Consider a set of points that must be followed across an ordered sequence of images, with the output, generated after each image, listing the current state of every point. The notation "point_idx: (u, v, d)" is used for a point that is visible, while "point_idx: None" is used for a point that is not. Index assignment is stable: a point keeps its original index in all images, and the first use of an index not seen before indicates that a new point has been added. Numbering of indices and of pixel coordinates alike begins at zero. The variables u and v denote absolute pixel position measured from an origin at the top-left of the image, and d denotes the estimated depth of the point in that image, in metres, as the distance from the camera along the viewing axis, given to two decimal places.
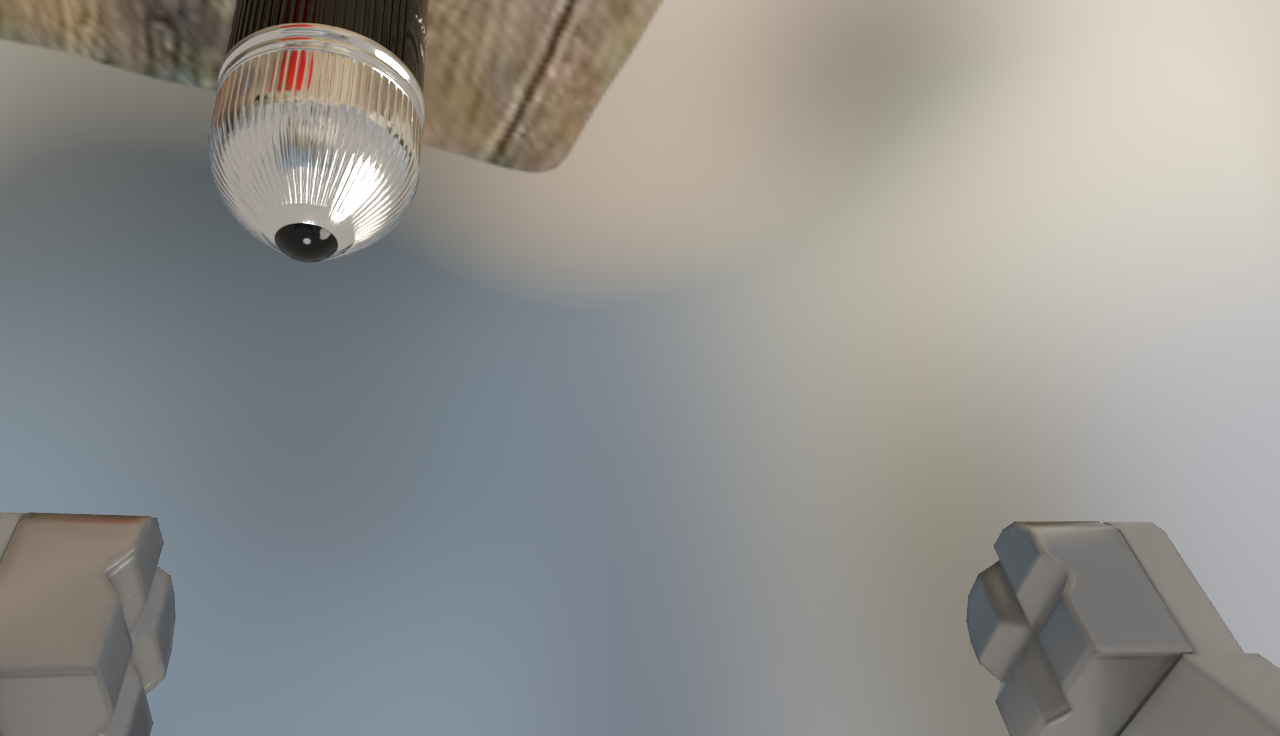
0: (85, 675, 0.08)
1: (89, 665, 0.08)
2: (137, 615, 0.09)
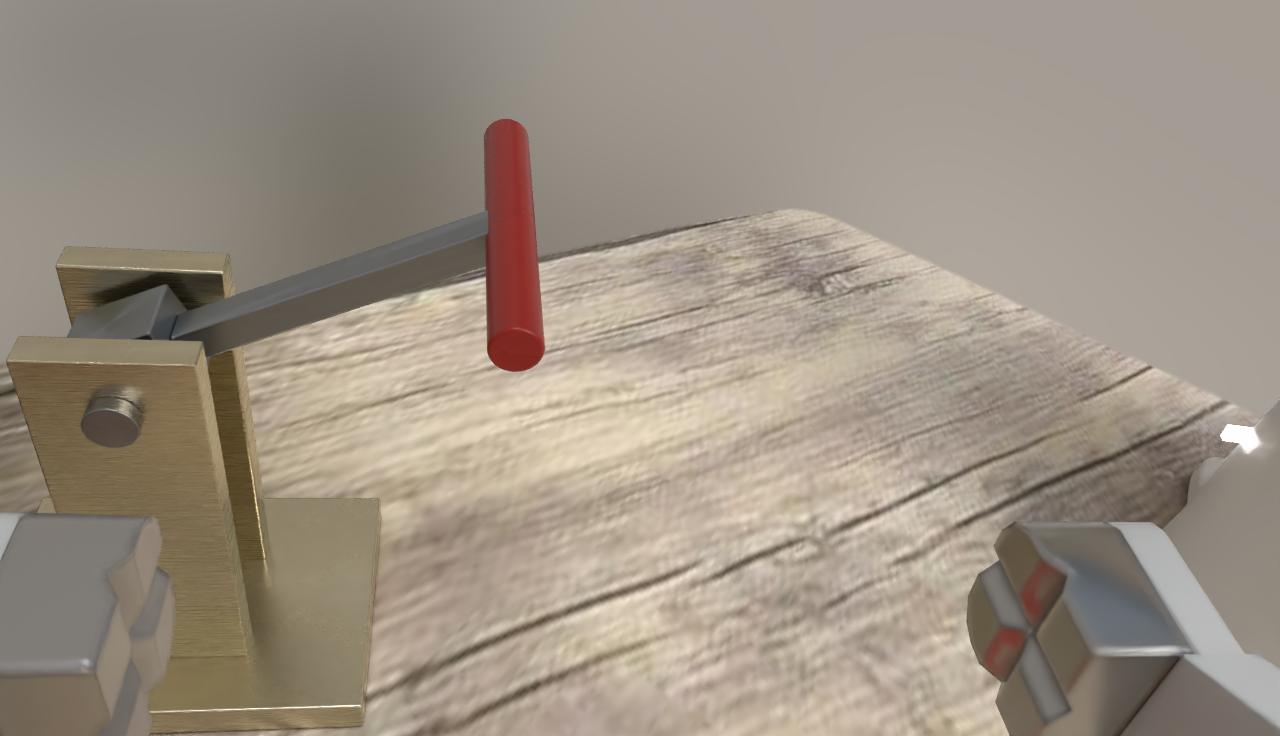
0: (85, 675, 0.08)
1: (89, 665, 0.08)
2: (137, 615, 0.09)
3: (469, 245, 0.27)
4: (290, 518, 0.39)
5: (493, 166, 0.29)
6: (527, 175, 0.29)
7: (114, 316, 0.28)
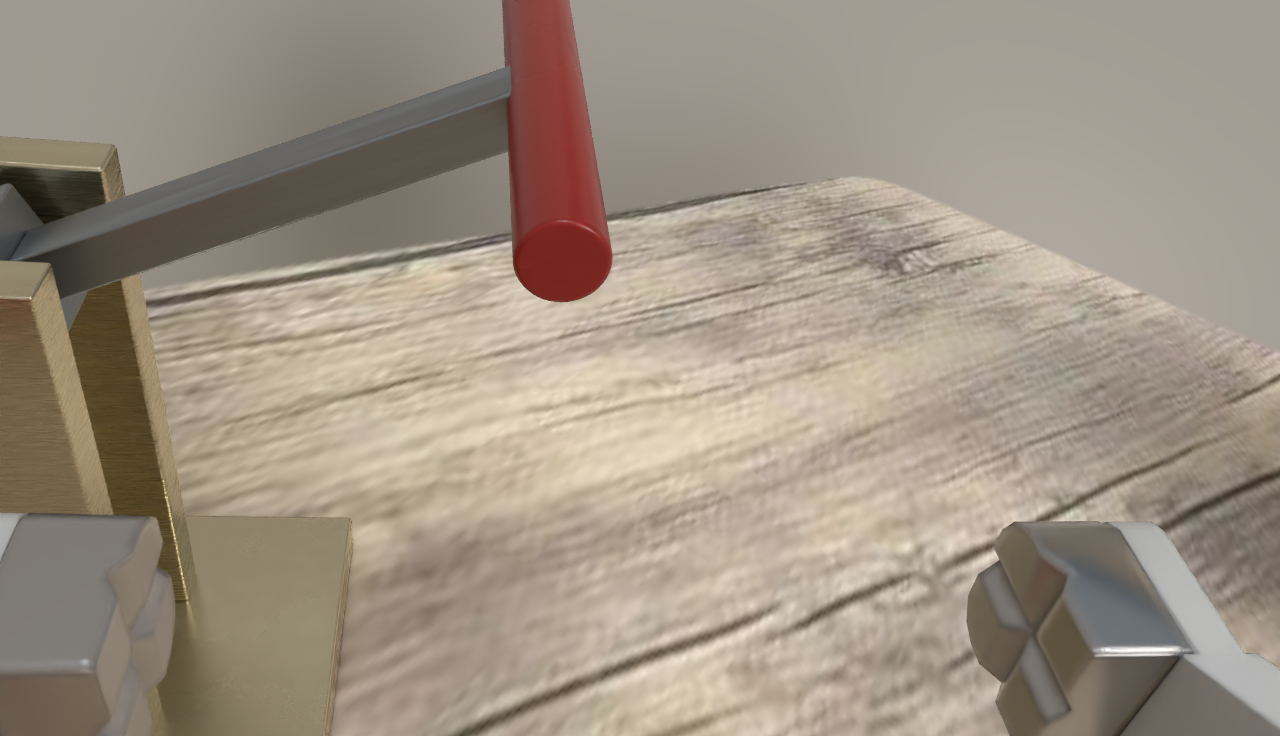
0: (85, 675, 0.08)
1: (89, 665, 0.08)
2: (137, 615, 0.09)
3: (480, 115, 0.17)
4: (227, 544, 0.29)
5: (517, 10, 0.19)
6: (569, 24, 0.19)
7: None
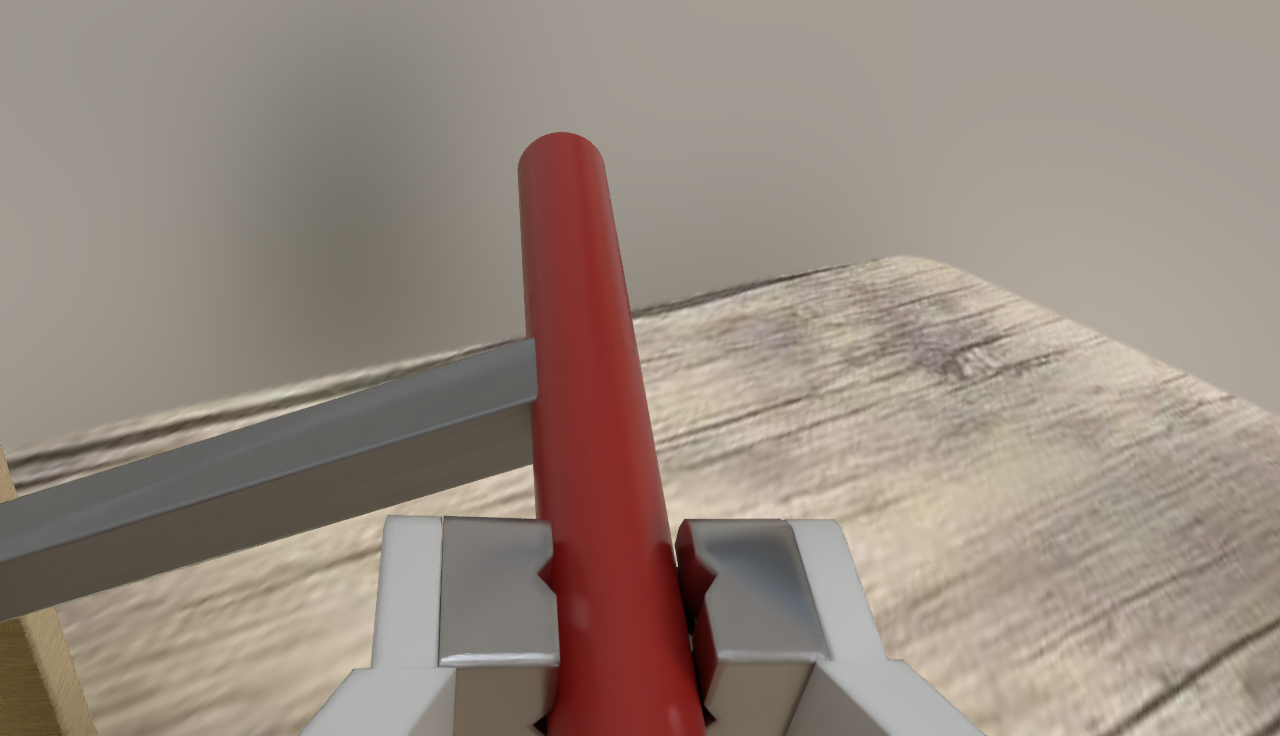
0: (549, 667, 0.08)
1: (553, 657, 0.08)
2: None
3: (492, 426, 0.12)
4: None
5: (542, 232, 0.14)
6: (615, 252, 0.14)
7: None
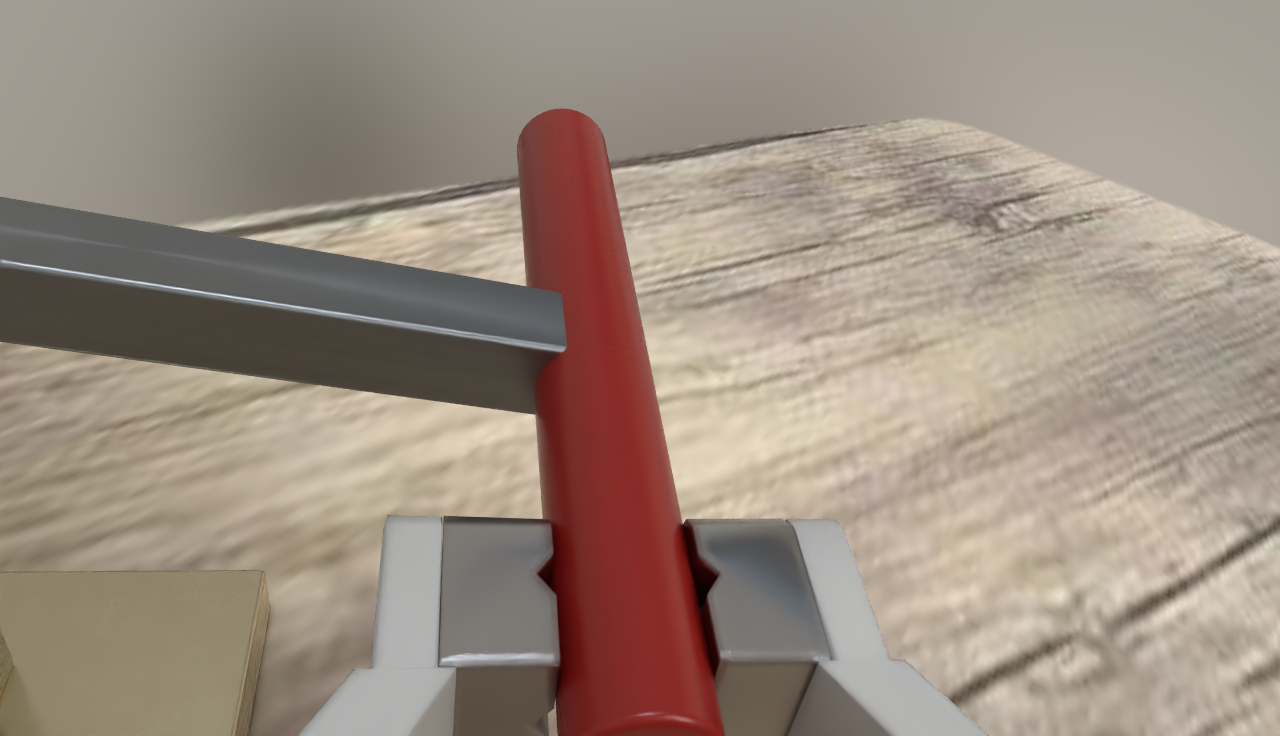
0: (549, 667, 0.08)
1: (554, 657, 0.08)
2: None
3: (506, 356, 0.11)
4: (70, 615, 0.19)
5: (570, 198, 0.13)
6: None
7: None
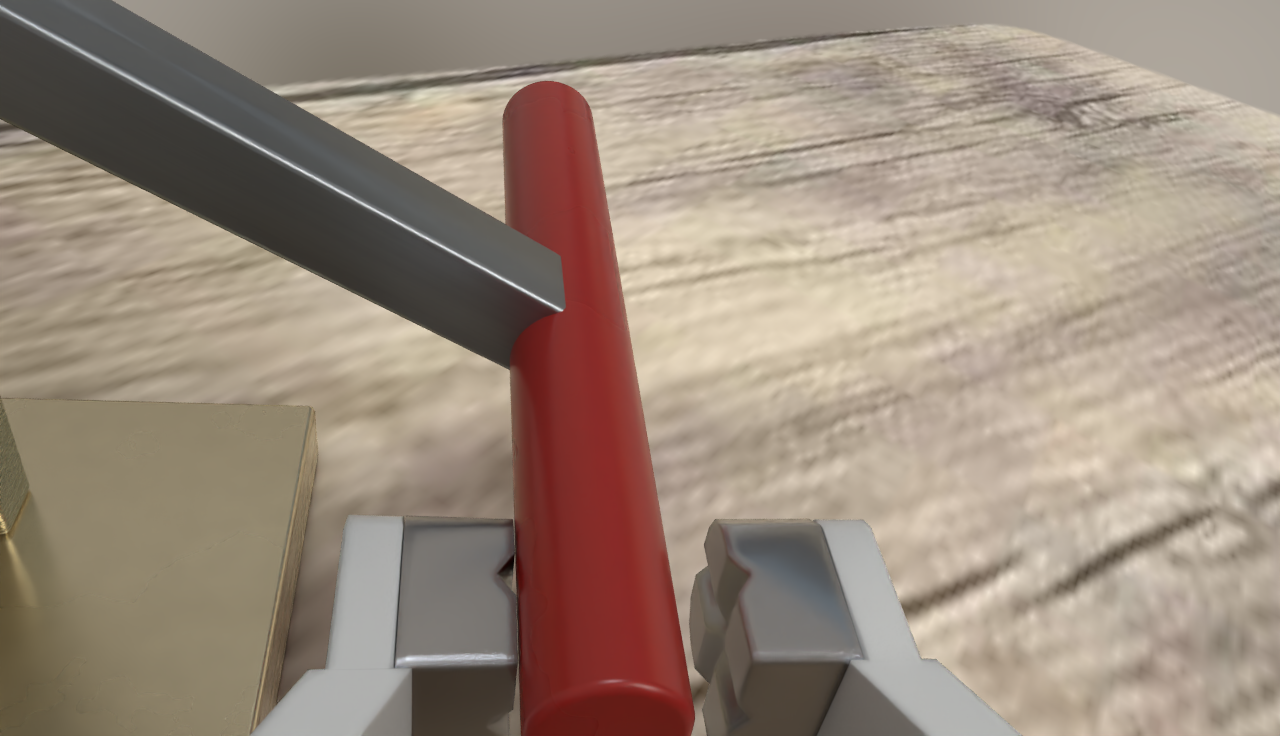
0: (507, 668, 0.08)
1: (511, 658, 0.08)
2: None
3: (504, 298, 0.11)
4: (94, 443, 0.16)
5: (571, 170, 0.13)
6: None
7: None
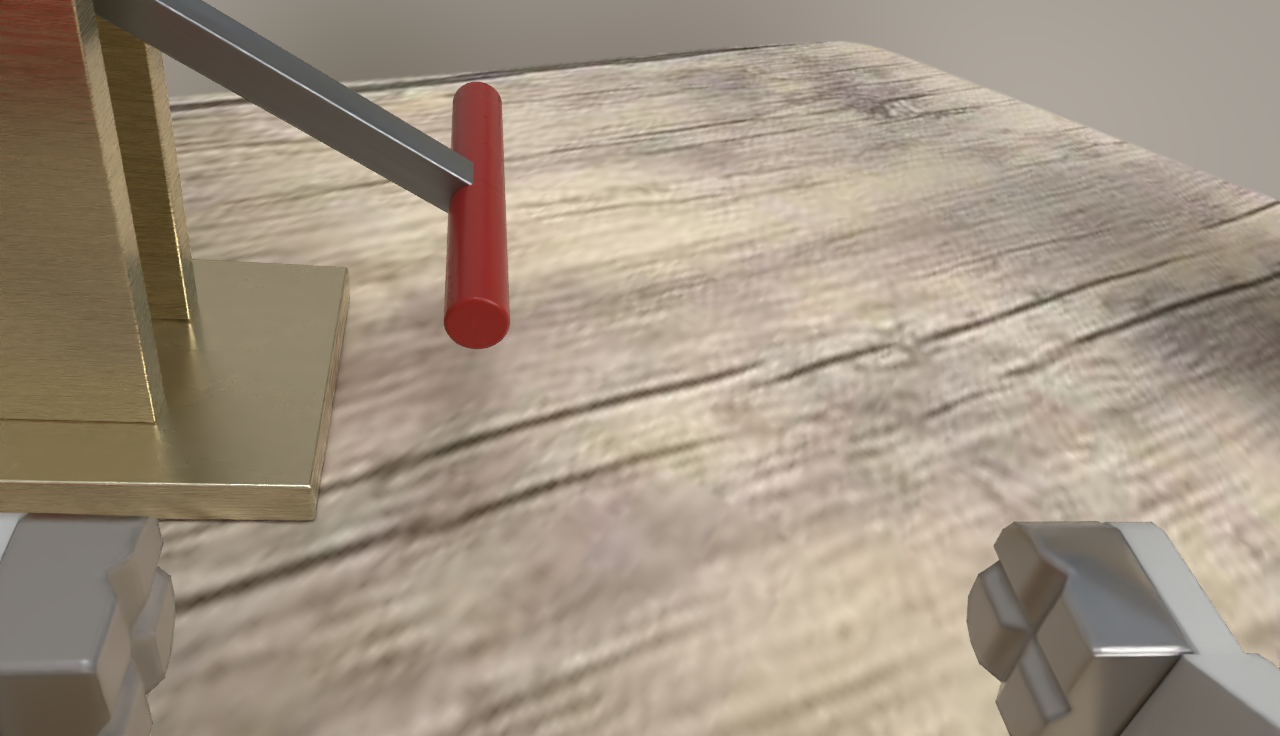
0: (85, 675, 0.08)
1: (88, 664, 0.08)
2: (137, 615, 0.09)
3: (445, 177, 0.24)
4: (228, 281, 0.30)
5: (483, 125, 0.26)
6: None
7: None
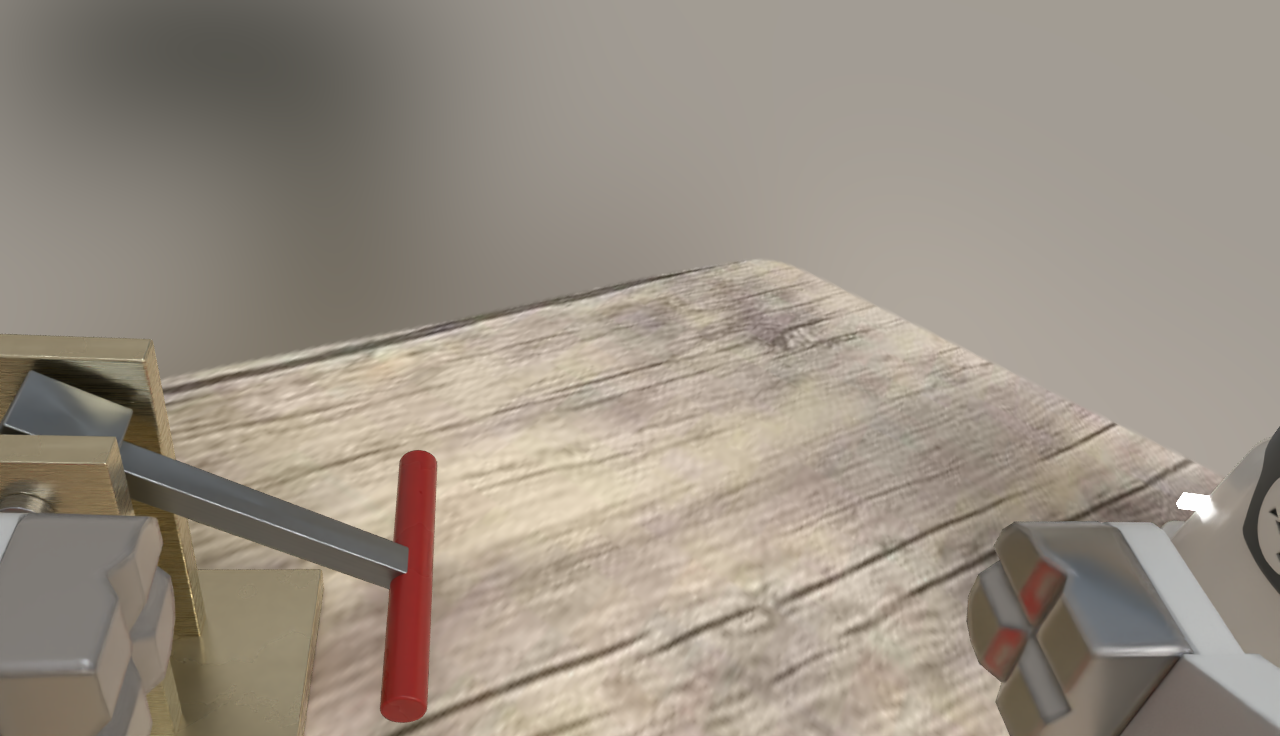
0: (85, 675, 0.08)
1: (89, 663, 0.08)
2: (137, 615, 0.09)
3: (386, 570, 0.33)
4: (228, 591, 0.39)
5: (419, 503, 0.35)
6: None
7: (75, 410, 0.28)
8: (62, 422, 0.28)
